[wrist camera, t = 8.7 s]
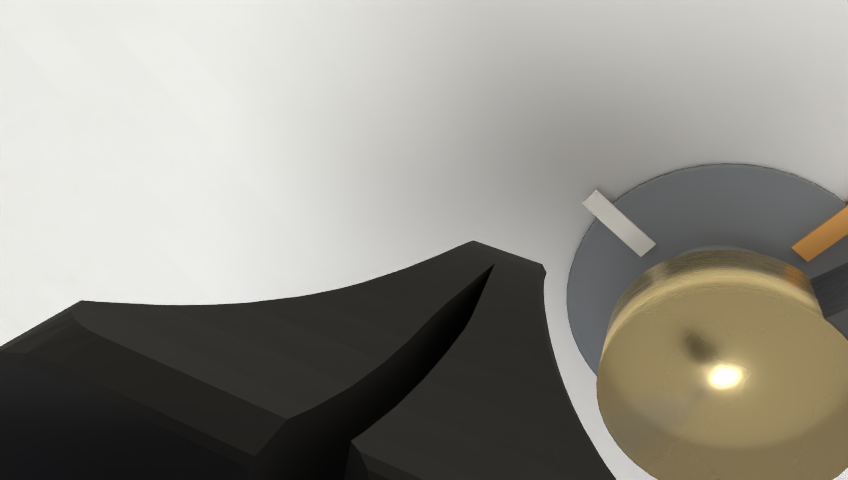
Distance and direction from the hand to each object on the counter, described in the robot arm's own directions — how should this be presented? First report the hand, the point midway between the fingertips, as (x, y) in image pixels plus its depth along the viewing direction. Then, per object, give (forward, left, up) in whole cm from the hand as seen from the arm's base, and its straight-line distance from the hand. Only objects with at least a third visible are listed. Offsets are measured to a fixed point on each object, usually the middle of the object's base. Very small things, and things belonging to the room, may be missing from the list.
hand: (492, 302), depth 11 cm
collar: (-3, -7, -7) cm, 10 cm away
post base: (-5, -4, -10) cm, 12 cm away
